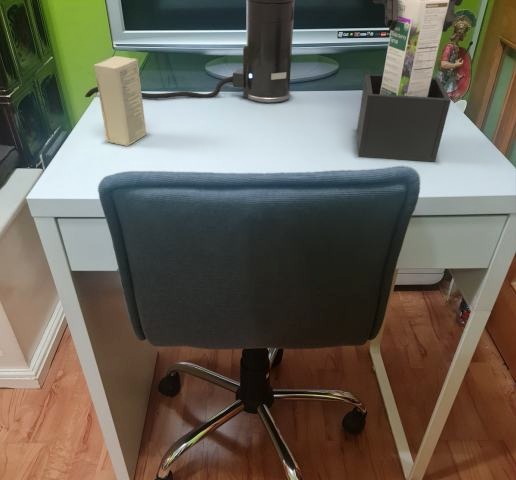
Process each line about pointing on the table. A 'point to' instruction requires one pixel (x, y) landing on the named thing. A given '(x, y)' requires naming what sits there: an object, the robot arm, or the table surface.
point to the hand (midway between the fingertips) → (419, 27)
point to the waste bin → (401, 122)
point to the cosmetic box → (121, 99)
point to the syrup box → (413, 47)
